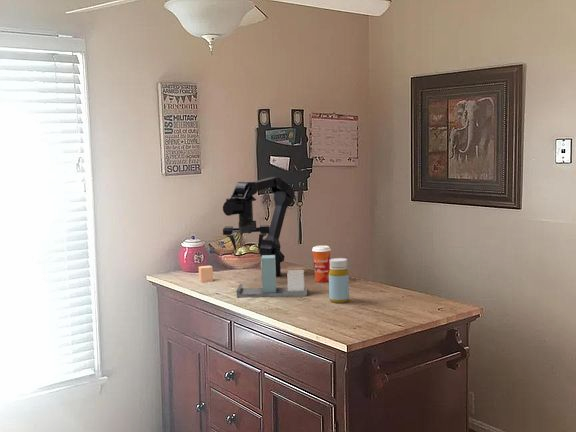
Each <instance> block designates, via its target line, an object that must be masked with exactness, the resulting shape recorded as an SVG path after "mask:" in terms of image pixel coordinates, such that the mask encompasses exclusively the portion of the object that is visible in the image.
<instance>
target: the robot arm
mask: <svg viewBox="0 0 576 432" xmlns="http://www.w3.org/2000/svg"><path fill="white" fill-rule="evenodd" d="M266 189H270V192H271V193H272V194H273V201H274V204H275V205H274V209H273V212H272V213H273V214H272V217H271V221H270V225H269V224H265V225H264V224H262V225H261V224H260V225H259V226H257V221H256V220H254V207H253V205H254V203H253V202H255V201H257V198H255V196H254V195H256V194H257V193H258V192H259V191H263V190H266ZM295 195H296V194H295V189H294V188H293V187H292V186H291V185H290V184H289V183H288V182H285V181H284V180H283V179H281V177H279V176H269V177H267V178H263V179H258V180H255V181H238V182H236V184H235V187H234V189H233V191H232V194H231V195H230V197H227V198H225V202H224V203H223V206H222V211H223V214H224V215H226V216H228V217H229V216H235V215H238V227H234V226H232V225H231V226H230V225H228V226H224V227H223V228H222V236H226V238H229V239H230V241H231V243H232V246H233V248H234V251H235V252H236V253H237V251H238V250H237V249H238V248H237V242H236V235H235V233H240V234H241V235H243V234H252V233H259V234H258V243H257V252H258V253H259V255H260V258H261V257H262V255H275V266H276V277H282V270H281V263H282V262H284V261H285V255H284V254H283V252H282V251H281V247H282V246H281V241H280V237H281V236H280V235H281V232H282V228H283V224H284V219H285V215H286V213H287V209H288V207H289V206H290V205H291V203H293V200H294V198H295ZM264 237H265V238H264Z"/></svg>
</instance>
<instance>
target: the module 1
mask: <svg viewBox="0 0 576 432" xmlns="http://www.w3.org/2000/svg"><path fill="white" fill-rule="evenodd" d="M198 280H199V282H201V284H202V283H211V282H214V269H213V266H212V265H203V266H202V265H201V266H198Z"/></svg>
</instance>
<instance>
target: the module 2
mask: <svg viewBox="0 0 576 432" xmlns="http://www.w3.org/2000/svg"><path fill="white" fill-rule="evenodd" d="M260 260H261V261H260V269H261V288H262V291H263V293H266V292H276V287H277V276H276V266H275V255H262V257H261V256H260Z"/></svg>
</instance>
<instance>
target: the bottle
mask: <svg viewBox="0 0 576 432" xmlns="http://www.w3.org/2000/svg"><path fill="white" fill-rule="evenodd" d="M348 270H349V269H348V259H347V258H344V257H336V258H335V257H334V258H330V271H329V281H328V291H329V293H328V294H329V301H330V302H331V303H332V304H333V303H335V304H344V303H343V302H345V303H347V302H349V301H350V285H349V284H350V281H349V280H350V278H349V277H350V275H349V273H350V272H349V271H348Z"/></svg>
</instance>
